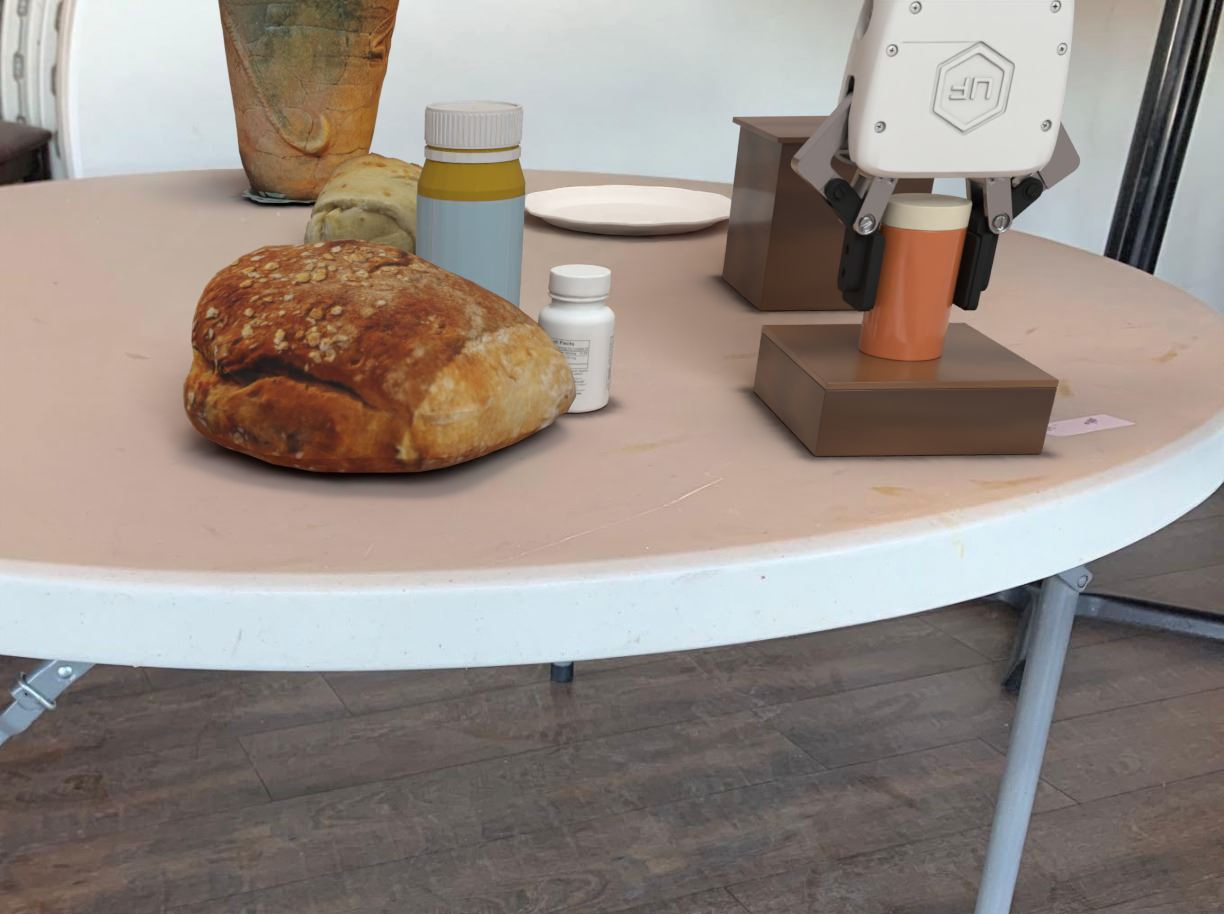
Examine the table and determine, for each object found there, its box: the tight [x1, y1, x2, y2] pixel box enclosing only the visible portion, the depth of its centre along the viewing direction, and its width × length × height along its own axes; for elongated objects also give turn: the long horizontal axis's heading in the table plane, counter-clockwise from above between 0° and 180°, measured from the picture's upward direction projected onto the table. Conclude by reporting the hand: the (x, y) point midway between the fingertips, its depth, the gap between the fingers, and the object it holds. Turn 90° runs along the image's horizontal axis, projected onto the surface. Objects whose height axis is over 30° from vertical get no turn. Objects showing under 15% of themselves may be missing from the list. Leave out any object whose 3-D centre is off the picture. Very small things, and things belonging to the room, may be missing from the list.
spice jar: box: [858, 193, 972, 361], centre depth 76 cm, size 4×4×8 cm
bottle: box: [416, 100, 526, 309], centre depth 92 cm, size 7×7×15 cm
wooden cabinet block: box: [721, 115, 935, 312], centre depth 104 cm, size 12×12×12 cm
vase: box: [217, 0, 400, 204], centre depth 141 cm, size 21×20×30 cm
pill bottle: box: [537, 263, 616, 414], centre depth 81 cm, size 4×4×8 cm
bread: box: [182, 239, 576, 474], centre depth 76 cm, size 20×18×10 cm
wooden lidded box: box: [753, 322, 1060, 457], centre depth 78 cm, size 12×12×4 cm
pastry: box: [303, 152, 423, 255], centre depth 120 cm, size 14×12×8 cm
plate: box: [525, 184, 732, 236], centre depth 134 cm, size 21×21×2 cm
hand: (908, 301), depth 76 cm, fingers open, 4 cm apart
